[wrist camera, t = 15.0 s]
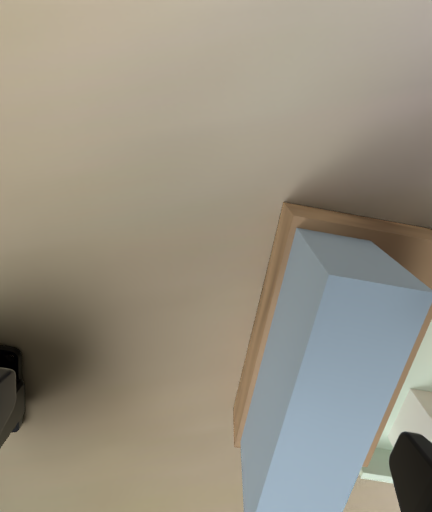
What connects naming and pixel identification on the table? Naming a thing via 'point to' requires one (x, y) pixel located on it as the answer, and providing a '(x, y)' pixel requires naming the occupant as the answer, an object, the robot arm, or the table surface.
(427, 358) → the tray
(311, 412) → the long blue block
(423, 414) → the tile
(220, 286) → the table surface
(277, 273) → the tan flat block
